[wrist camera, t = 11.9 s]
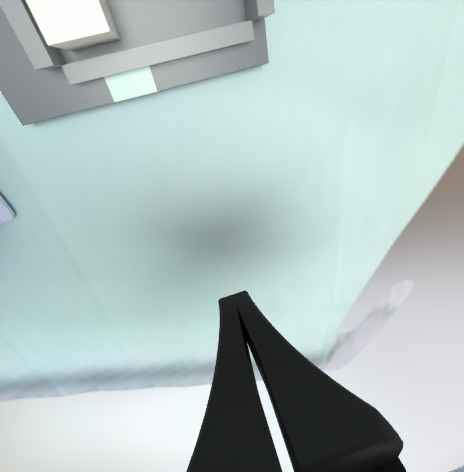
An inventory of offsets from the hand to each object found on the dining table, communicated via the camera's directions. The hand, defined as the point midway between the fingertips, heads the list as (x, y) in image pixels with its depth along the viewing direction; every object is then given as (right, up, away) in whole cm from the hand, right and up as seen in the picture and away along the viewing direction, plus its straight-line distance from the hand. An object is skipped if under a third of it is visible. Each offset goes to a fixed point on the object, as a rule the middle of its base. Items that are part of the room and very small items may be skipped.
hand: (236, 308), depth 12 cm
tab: (-7, +14, -1) cm, 16 cm away
